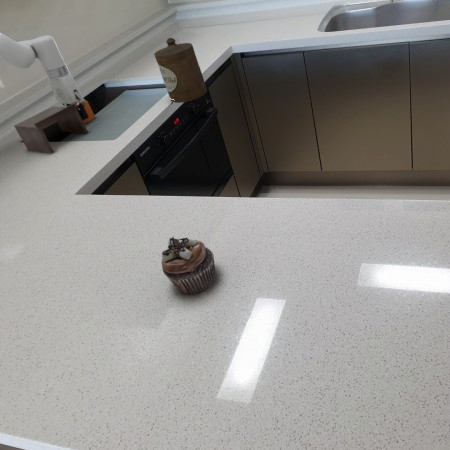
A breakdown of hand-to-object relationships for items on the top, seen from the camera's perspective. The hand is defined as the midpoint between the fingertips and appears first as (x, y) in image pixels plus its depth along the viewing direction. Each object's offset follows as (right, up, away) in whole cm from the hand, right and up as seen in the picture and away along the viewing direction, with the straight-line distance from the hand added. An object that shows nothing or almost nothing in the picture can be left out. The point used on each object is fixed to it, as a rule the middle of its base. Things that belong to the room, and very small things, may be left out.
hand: (80, 118), depth 178 cm
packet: (0, -1, +1) cm, 2 cm away
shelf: (-3, -11, -11) cm, 16 cm away
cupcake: (+65, -52, -89) cm, 122 cm away
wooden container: (+41, +10, +4) cm, 43 cm away
